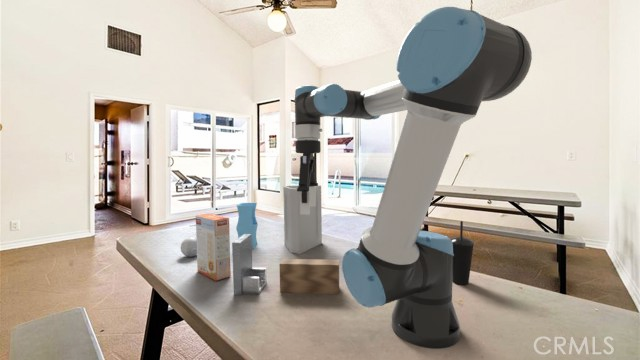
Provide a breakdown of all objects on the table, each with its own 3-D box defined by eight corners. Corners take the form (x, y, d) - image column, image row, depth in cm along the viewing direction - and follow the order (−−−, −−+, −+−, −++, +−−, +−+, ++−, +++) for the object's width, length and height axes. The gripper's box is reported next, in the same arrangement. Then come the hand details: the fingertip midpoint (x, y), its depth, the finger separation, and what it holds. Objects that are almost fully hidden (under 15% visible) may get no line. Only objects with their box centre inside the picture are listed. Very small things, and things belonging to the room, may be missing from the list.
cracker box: (232, 276, 101) (230, 217, 100) (215, 282, 97) (213, 220, 95) (212, 267, 111) (210, 212, 109) (197, 271, 106) (194, 214, 105)
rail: (339, 287, 92) (339, 259, 91) (338, 294, 87) (338, 265, 87) (283, 286, 94) (282, 258, 93) (280, 292, 89) (279, 263, 88)
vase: (254, 248, 134) (252, 205, 132) (237, 248, 134) (235, 205, 132) (258, 243, 141) (256, 202, 140) (241, 243, 142) (240, 202, 140)
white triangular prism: (297, 238, 149) (296, 184, 147) (322, 242, 141) (321, 185, 139) (273, 248, 133) (271, 187, 131) (300, 254, 125) (298, 189, 123)
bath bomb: (203, 256, 123) (202, 238, 122) (182, 260, 118) (181, 241, 118) (199, 252, 129) (198, 234, 129) (179, 255, 125) (178, 237, 124)
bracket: (257, 295, 87) (256, 243, 86) (233, 294, 88) (232, 242, 86) (267, 281, 97) (266, 234, 96) (245, 281, 97) (244, 234, 96)
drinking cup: (472, 289, 89) (474, 225, 88) (445, 283, 93) (446, 222, 92) (474, 280, 96) (476, 220, 95) (449, 275, 100) (450, 218, 99)
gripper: (315, 137, 75) (315, 218, 76) (324, 142, 99) (324, 203, 101) (286, 137, 76) (287, 218, 77) (302, 142, 100) (303, 203, 102)
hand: (308, 210), depth 89 cm, fingers open, 13 cm apart
